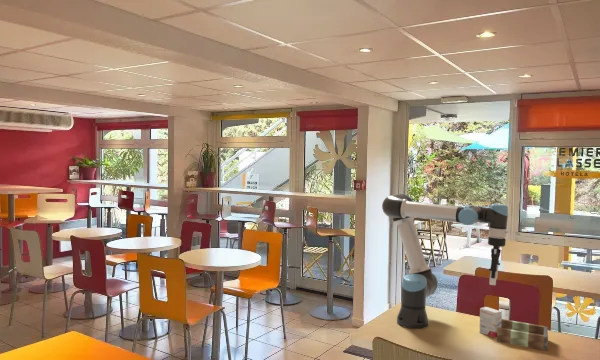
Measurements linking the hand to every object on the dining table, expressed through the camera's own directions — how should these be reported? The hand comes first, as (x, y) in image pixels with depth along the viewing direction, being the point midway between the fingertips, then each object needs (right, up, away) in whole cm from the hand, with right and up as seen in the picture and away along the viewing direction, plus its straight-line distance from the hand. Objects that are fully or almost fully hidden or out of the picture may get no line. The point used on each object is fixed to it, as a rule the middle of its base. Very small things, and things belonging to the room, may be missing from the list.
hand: (493, 281), depth 218 cm
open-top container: (+9, -25, -9) cm, 28 cm away
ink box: (-3, -24, -3) cm, 25 cm away
